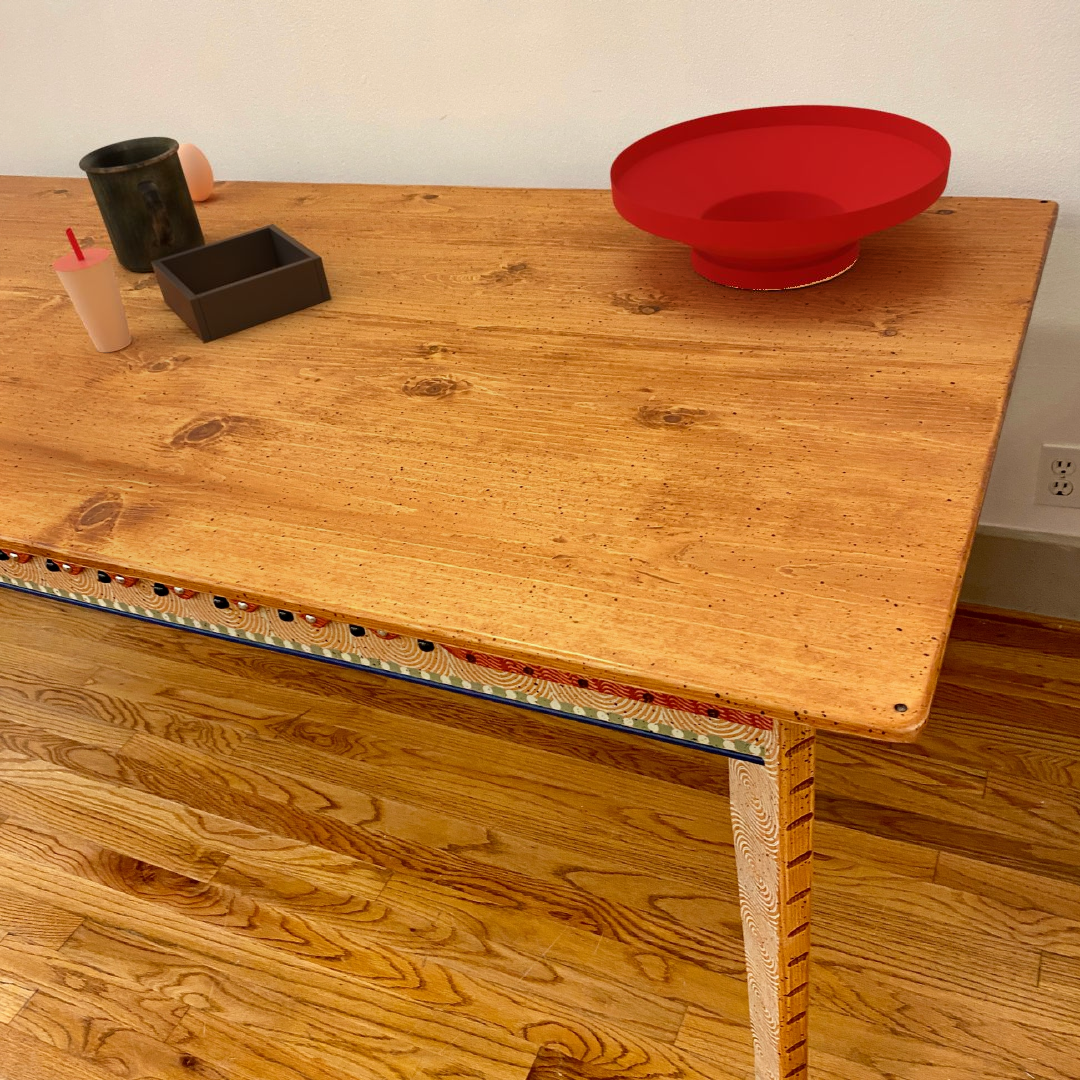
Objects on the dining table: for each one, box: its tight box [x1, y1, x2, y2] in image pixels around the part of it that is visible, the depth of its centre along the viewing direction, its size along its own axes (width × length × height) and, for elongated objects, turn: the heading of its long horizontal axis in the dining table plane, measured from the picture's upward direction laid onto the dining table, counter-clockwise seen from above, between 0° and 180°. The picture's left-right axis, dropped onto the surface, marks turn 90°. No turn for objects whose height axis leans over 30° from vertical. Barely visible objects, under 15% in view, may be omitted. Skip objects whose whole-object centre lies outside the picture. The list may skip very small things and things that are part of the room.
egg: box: [177, 142, 215, 202], centre depth 140 cm, size 5×5×7 cm
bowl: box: [609, 104, 952, 291], centre depth 103 cm, size 30×30×10 cm
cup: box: [51, 226, 133, 353], centre depth 104 cm, size 5×5×12 cm
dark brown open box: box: [151, 223, 332, 344], centre depth 111 cm, size 14×14×4 cm
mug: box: [78, 136, 206, 272], centre depth 122 cm, size 11×15×12 cm
